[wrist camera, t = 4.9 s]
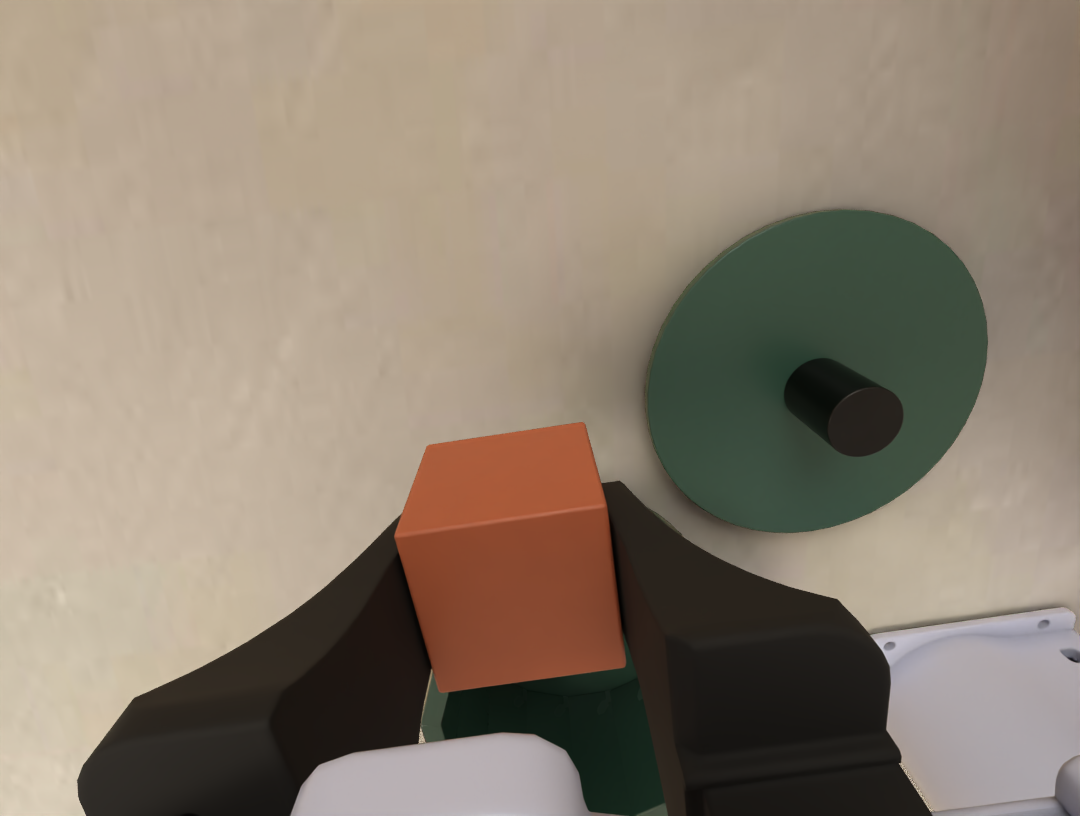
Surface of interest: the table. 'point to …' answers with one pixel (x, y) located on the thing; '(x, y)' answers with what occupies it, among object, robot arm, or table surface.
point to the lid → (816, 370)
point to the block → (512, 559)
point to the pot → (568, 729)
